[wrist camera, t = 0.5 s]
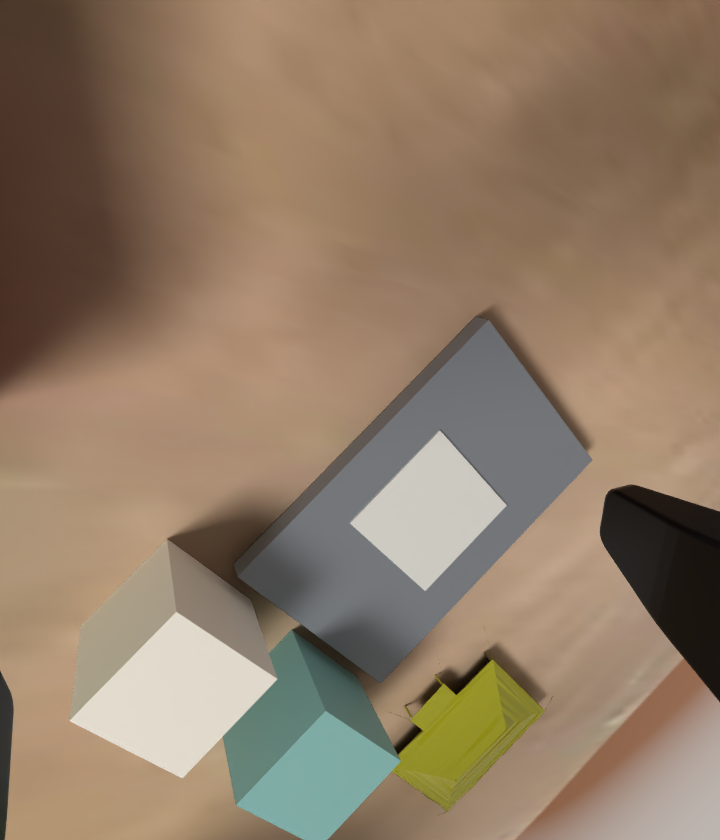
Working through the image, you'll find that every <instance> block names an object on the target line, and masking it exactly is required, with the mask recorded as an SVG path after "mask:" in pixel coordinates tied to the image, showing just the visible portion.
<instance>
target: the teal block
mask: <svg viewBox="0 0 720 840" xmlns="http://www.w3.org/2000/svg"><path fill="white" fill-rule="evenodd" d="M269 655H270V658H271V661H272V664H273V667H274V670H275V673H276V676H277V680H276V681H275V682H274V683H273V684H272V685H271V687H270V688H269V689H268V690H267V691H266V692H265V693H264V694H263V695H262V696H261V697H260V698H259V699H258V700H257V701H256V702H255V703H254V704H253V705H252V706H251V707H250V708H249V709H248V710H247V711H246V713H245V714H244V715H243V716H242V717H241V718H240V719H239V720H238V721H237V722H236V723H235V724H234V725H233V726H232V727H231V728H230V729H229V730H228V731H227V732H226V733H225V734H224V735H223V740H224V746H225V751H226V756H227V761H228V767H229V772H230V777H231V782H232V787H233V793H234V798H235V803H236V806H238V807H240V808H242V809H244V810H246V811H248V812H250V813H252V814H254V815H256V816H258V817H260V818H262V819H264V820H266V821H268V822H270V823H272V824H274V825H275V826H277V827H279V828H281V829H283V830H285V831H287V832H289V833H291V834H293V835H295V836H297V837H299V838H301V839H303V840H328V839H329V838H330V836H331V835H332V834H333V833H334V832H335V831H336V830H337V829H338V828H339V827H340V826H341V825H342V824H343V823H344V821H345V820H346V819H347V818H348V817H349V816H350V815H351V814H352V813H353V812H354V811H355V810H356V809H357V808H358V807H359V805H360V804H361V803H362V802H363V801H364V800H365V799H366V798H367V797H368V796H369V795H370V794H371V793H372V792H373V790H374V789H375V788H376V787H377V786H378V785H379V784H380V783H381V782H382V781H383V780H384V779H385V778H386V777H387V775H388V774H389V773H390V772H391V771H392V770H393V769H394V768H395V767H396V766H397V765H398V764H399V763H400V762H401V760H400V758H399V756H398V754H397V752H396V751H395V749H394V747H393V745H392V743H391V741H390V739H389V737H388V735H387V733H386V731H385V729H384V728H383V726H382V724H381V722H380V720H379V718H378V716H377V714H376V712H375V710H374V708H373V706H372V705H371V703H370V701H369V699H368V697H367V695H366V693H365V691H364V689H363V687H362V685H361V683H360V682H359V680H358V678H357V677H356V676H355V675H353V674H352V673H351V672H349V671H348V670H346V669H345V668H344V667H342V666H341V665H340V664H338V663H337V662H335V661H334V660H333V659H331V658H330V657H329V656H327V655H326V654H324V653H323V652H322V651H320V650H319V649H318V648H316V647H315V646H313V645H312V644H311V643H309V642H308V641H307V640H305V639H304V638H302V637H301V636H300V635H298V634H297V633H296V632H294V631H293V630H291V631H290V632H289V633H288V634H287V635H286V636H285V637H284V638H283V639H282V640H281V641H280V642H279V643H278V644H277V645H276V646H275V648H274V649H273V650H272V651H271V652H270V653H269Z"/></svg>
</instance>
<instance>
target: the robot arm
mask: <svg viewBox="0 0 720 840" xmlns="http://www.w3.org/2000/svg"><path fill="white" fill-rule="evenodd" d="M600 536H601V540H602V542H603V545H604V546H605V548H606V550H607V551H608V553H609V554H610V556H611V557H612V559H613V560H614V562H615V563H616V565H617V566H618V568H619V569H620V571H621V572H622V574H623V575H624V577H625V578H626V580H627V581H628V583H629V584H630V585H631V587H632V588H633V590H634V591H635V593H636V594H637V596H638V597H639V599H640V600H641V602H642V603H643V605H644V606H645V608H646V609H647V611H648V612H649V614H650V615H651V617H652V618H653V619H654V621H655V622H656V624H657V625H658V626H659V628H660V629H661V630H662V631H663V633H664V634H665V635H666V637H667V638H668V639H669V640H670V642H671V643H672V644H673V645H674V646H675V648H676V649H677V650H678V651H679V653H680V654H681V655H682V656H683V657H684V659H685V660H686V661H687V662H688V664H689V665H690V666H691V667H692V669H693V670H694V671H695V672H696V673H697V675H698V676H699V677H700V678H701V680H702V681H703V682H704V683H705V685H706V686H707V687H708V688H709V689H710V691H711V692H712V693H713V694H714V696H715V697H716V698H717V699H718V700H719V702H720V512H719V511H716V510H713V509H710V508H707V507H703V506H700V505H697V504H694V503H691V502H688V501H684V500H681V499H678V498H675V497H672V496H669V495H665V494H662V493H659V492H656V491H653V490H650V489H647V488H643V487H640V486H637V485H626V486H622V487H618V488H614V489H611V490H610V491H608V493H607V494H606V497H605V501H604V507H603V514H602V520H601V526H600ZM13 715H14V707H13V699H12V695H11V692H10V690H9V688H8V686H7V684H6V682H5V680H4V678H3V676H2V674H1V672H0V840H5V832H6V821H7V807H8V792H9V776H10V761H11V746H12V730H13Z"/></svg>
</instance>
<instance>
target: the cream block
mask: <svg viewBox="0 0 720 840" xmlns="http://www.w3.org/2000/svg"><path fill="white" fill-rule="evenodd" d="M276 680H277V676H276V673H275V670H274V667H273V664H272V661H271V658H270V655H269V652H268V649H267V647H266V644H265V641H264V638H263V635H262V632H261V629H260V626H259V623H258V620H257V617H256V614H255V611H254V608H253V605H252V602H251V600H250V599H249V598H248V597H246V596H245V595H243V594H242V593H241V592H239V591H238V590H237V589H235V588H234V587H232V586H231V585H230V584H228V583H227V582H226V581H224V580H223V579H221V578H220V577H219V576H217V575H216V574H215V573H213V572H212V571H211V570H209V569H208V568H206V567H205V566H204V565H202V564H201V563H200V562H198V561H197V560H195V559H194V558H193V557H191V556H190V555H189V554H187V553H186V552H184V551H183V550H182V549H180V548H179V547H178V546H176V545H175V544H173V543H172V542H171V541H169V540H168V539H166V540H165V541H164V542H163V543H162V544H161V545H160V546H159V547H158V548H157V549H156V550H155V551H154V552H153V553H152V554H151V555H150V556H149V557H148V558H147V559H146V560H145V561H144V562H143V563H142V564H141V565H140V566H139V567H138V568H137V569H136V570H135V571H134V572H133V573H132V574H131V575H130V576H129V577H128V578H127V579H126V580H125V581H124V582H123V583H122V584H121V585H120V586H119V587H118V588H117V589H116V590H115V591H114V593H113V594H112V595H111V596H110V597H109V598H108V599H107V600H106V601H105V602H104V603H103V604H102V605H101V606H100V607H99V608H98V609H97V610H96V611H95V612H94V613H93V614H92V615H91V616H90V617H89V618H88V619H87V620H86V621H85V622H84V623H83V624H82V625H81V628H80V636H79V645H78V653H77V661H76V670H75V678H74V686H73V695H72V703H71V711H70V720H69V721H71V722H73V723H74V724H76V725H78V726H80V727H82V728H84V729H86V730H88V731H90V732H92V733H94V734H96V735H98V736H100V737H102V738H104V739H106V740H108V741H110V742H112V743H114V744H116V745H118V746H120V747H122V748H124V749H126V750H128V751H130V752H131V753H133V754H135V755H137V756H139V757H141V758H143V759H145V760H147V761H149V762H151V763H153V764H155V765H157V766H159V767H161V768H163V769H165V770H167V771H169V772H171V773H173V774H175V775H177V776H179V777H181V778H183V777H184V776H185V775H186V774H187V773H188V772H189V771H190V770H191V769H192V768H193V767H194V766H195V765H196V764H197V762H198V761H199V760H200V759H201V758H202V757H203V756H204V755H205V754H206V753H207V752H208V751H209V750H210V749H211V748H212V747H213V746H214V745H215V744H216V743H217V742H218V741H219V740H220V739H221V738H222V736H223V735H224V734H225V733H226V732H227V731H228V730H229V729H230V728H231V727H232V726H233V725H234V724H235V723H236V722H237V721H238V720H239V719H240V718H241V717H242V716H243V715H244V714H245V713H246V711H247V710H248V709H249V708H250V707H251V706H252V705H253V704H254V703H255V702H256V701H257V700H258V699H259V698H260V697H261V696H262V695H263V694H264V693H265V692H266V691H267V690H268V689H269V688H270V687H271V685H272V684H273V683H274V682H275V681H276Z"/></svg>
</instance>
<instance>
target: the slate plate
mask: <svg viewBox="0 0 720 840" xmlns="http://www.w3.org/2000/svg"><path fill="white" fill-rule="evenodd" d="M591 461H592V459H591V457H590V456H589V455H588V453H587V452H586V451H585V449H584V448H583V446H582V445H581V444H580V442H579V441H578V440H577V438H576V437H575V436H574V434H573V433H572V432H571V430H570V429H569V428H568V426H567V425H566V423H565V422H564V421H563V419H562V418H561V417H560V415H559V414H558V413H557V411H556V410H555V409H554V407H553V406H552V405H551V403H550V402H549V400H548V399H547V398H546V396H545V395H544V394H543V392H542V391H541V390H540V388H539V387H538V386H537V384H536V383H535V382H534V380H533V379H532V377H531V376H530V375H529V373H528V372H527V371H526V369H525V368H524V367H523V365H522V364H521V363H520V361H519V360H518V359H517V357H516V356H515V354H514V353H513V352H512V350H511V349H510V348H509V346H508V345H507V344H506V342H505V341H504V340H503V338H502V337H501V336H500V334H499V333H498V331H497V330H496V329H495V327H494V326H493V325H492V323H491V322H490V321H489V320H488V319H483V318H479V317H475V318H474V319H473V320H472V321H471V322H470V323H469V324H468V325H467V326H466V327H465V328H464V329H463V330H462V331H461V332H460V333H459V334H458V335H457V336H456V337H455V338H454V339H453V340H452V341H451V342H450V343H449V344H448V345H447V346H446V348H445V349H444V350H443V351H442V352H441V353H440V354H439V355H438V356H437V357H436V358H435V359H434V360H433V361H432V362H431V363H430V364H429V365H428V366H427V367H426V368H425V369H424V370H423V371H422V372H421V373H420V374H419V375H418V376H417V377H416V378H415V379H414V380H413V381H412V382H411V383H410V384H409V385H408V386H407V387H406V388H405V389H404V390H403V391H402V392H401V393H400V394H399V395H398V397H397V398H396V399H395V400H394V401H393V402H392V403H391V404H390V405H389V406H388V407H387V408H386V409H385V410H384V411H383V412H382V413H381V414H380V415H379V416H378V417H377V418H376V419H375V420H374V421H373V422H372V423H371V424H370V425H369V426H368V427H367V428H366V429H365V430H364V431H363V432H362V433H361V434H360V435H359V436H358V437H357V438H356V439H355V440H354V441H353V442H352V443H351V445H350V446H349V447H348V448H347V449H346V450H345V451H344V452H343V453H342V454H341V455H340V456H339V457H338V458H337V459H336V460H335V461H334V462H333V463H332V464H331V465H330V466H329V467H328V468H327V469H326V470H325V471H324V472H323V473H322V474H321V475H320V476H319V477H318V478H317V479H316V480H315V481H314V482H313V483H312V484H311V485H310V486H309V487H308V488H307V489H306V490H305V491H304V492H303V494H302V495H301V496H300V497H299V498H298V499H297V500H296V501H295V502H294V503H293V504H292V505H291V506H290V507H289V508H288V509H287V510H286V511H285V512H284V513H283V514H282V515H281V516H280V517H279V518H278V519H277V520H276V521H275V522H274V523H273V524H272V525H271V526H270V527H269V528H268V529H267V530H266V531H265V532H264V533H263V534H262V535H261V536H260V537H259V538H258V539H257V540H256V541H255V543H254V544H253V545H252V546H251V547H250V548H249V549H248V550H247V551H246V552H245V553H244V554H243V555H242V556H241V557H240V558H239V559H238V560H237V561H236V562H235V563H234V564H233V565H234V568H235V571H236V574H237V577H238V578H239V579H241V580H242V581H244V582H245V583H246V584H248V585H249V586H250V587H252V588H253V589H254V590H256V591H257V592H258V593H260V594H261V595H262V596H264V597H265V598H266V599H268V600H269V601H270V602H272V603H273V604H275V605H276V606H277V607H279V608H280V609H281V610H283V611H284V612H285V613H287V614H288V615H289V616H291V617H292V618H293V619H295V620H296V621H297V622H299V623H300V624H301V625H303V626H304V627H306V628H307V629H308V630H310V631H311V632H312V633H314V634H315V635H316V636H318V637H319V638H320V639H322V640H323V641H324V642H326V643H327V644H328V645H330V646H331V647H332V648H334V649H335V650H336V651H338V652H339V653H341V654H342V655H343V656H345V657H346V658H347V659H349V660H350V661H351V662H353V663H354V664H355V665H357V666H358V667H359V668H361V669H362V670H363V671H365V672H366V673H367V674H369V675H370V676H372V677H373V678H374V679H376V680H377V681H378V682H380V683H381V682H382V681H383V680H384V679H385V678H386V677H387V676H388V675H389V674H390V673H391V672H392V671H393V670H394V669H395V668H396V666H397V665H398V664H399V663H400V662H401V661H402V660H403V659H404V658H405V657H406V656H407V655H408V654H409V653H410V652H411V651H412V650H413V649H414V648H415V646H416V645H417V644H418V643H419V642H420V641H421V640H422V639H423V638H424V637H425V636H426V635H427V634H428V633H429V632H430V631H431V630H432V629H433V628H434V626H435V625H436V624H437V623H438V622H439V621H440V620H441V619H442V618H443V617H444V616H445V615H446V614H447V613H448V612H449V611H450V610H451V609H452V607H453V606H454V605H455V604H456V603H457V602H458V601H459V600H460V599H461V598H462V597H463V596H464V595H465V594H466V593H467V592H468V591H469V590H470V589H471V587H472V586H473V585H474V584H475V583H476V582H477V581H478V580H479V579H480V578H481V577H482V576H483V575H484V574H485V573H486V572H487V571H488V570H489V568H490V567H491V566H492V565H493V564H494V563H495V562H496V561H497V560H498V559H499V558H500V557H501V556H502V555H503V554H504V553H505V552H506V551H507V550H508V548H509V547H510V546H511V545H512V544H513V543H514V542H515V541H516V540H517V539H518V538H519V537H520V536H521V535H522V534H523V533H524V532H525V531H526V530H527V528H528V527H529V526H530V525H531V524H532V523H533V522H534V521H535V520H536V519H537V518H538V517H539V516H540V515H541V514H542V513H543V512H544V511H545V509H546V508H547V507H548V506H549V505H550V504H551V503H552V502H553V501H554V500H555V499H556V498H557V497H558V496H559V495H560V494H561V493H562V492H563V491H564V489H565V488H566V487H567V486H568V485H569V484H570V483H571V482H572V481H573V480H574V479H575V478H576V477H577V476H578V475H579V474H580V473H581V472H582V470H583V469H584V468H585V467H586V466H587V465H588V464H589V463H590V462H591Z"/></svg>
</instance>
